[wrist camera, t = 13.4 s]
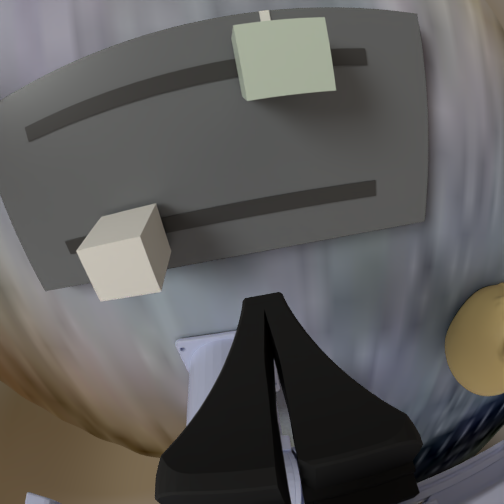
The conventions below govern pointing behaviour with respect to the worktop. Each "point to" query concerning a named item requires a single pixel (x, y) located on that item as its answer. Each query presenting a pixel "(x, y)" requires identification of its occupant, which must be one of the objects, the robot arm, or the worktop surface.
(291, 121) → the mixer console
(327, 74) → the sage fader
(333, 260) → the worktop surface
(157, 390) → the worktop surface
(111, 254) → the cream fader
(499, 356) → the sculpture
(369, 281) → the worktop surface
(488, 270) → the worktop surface
